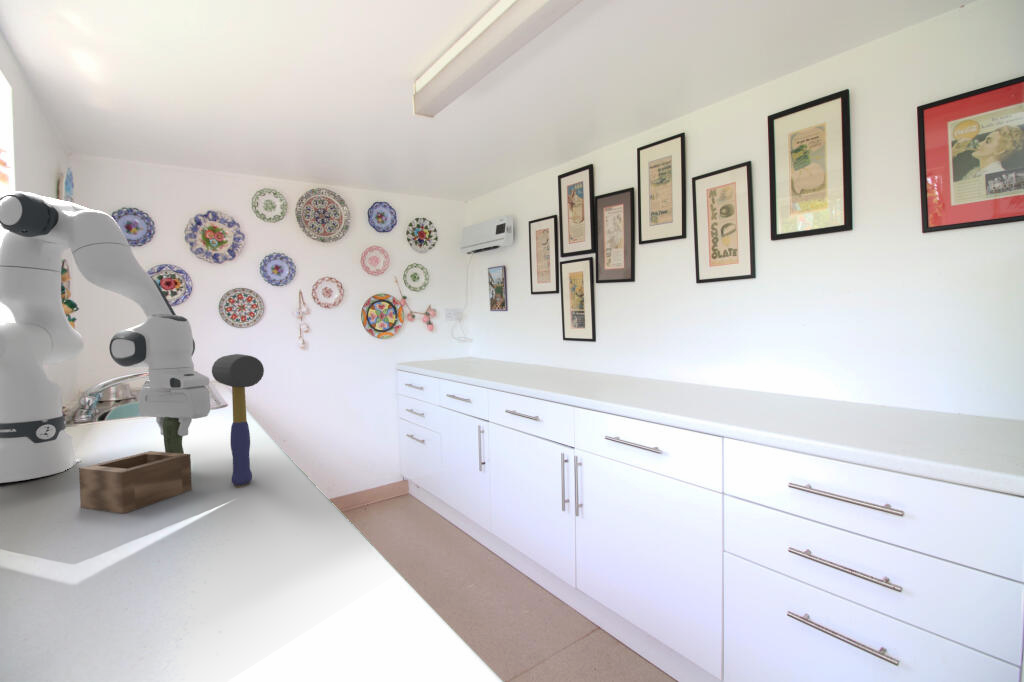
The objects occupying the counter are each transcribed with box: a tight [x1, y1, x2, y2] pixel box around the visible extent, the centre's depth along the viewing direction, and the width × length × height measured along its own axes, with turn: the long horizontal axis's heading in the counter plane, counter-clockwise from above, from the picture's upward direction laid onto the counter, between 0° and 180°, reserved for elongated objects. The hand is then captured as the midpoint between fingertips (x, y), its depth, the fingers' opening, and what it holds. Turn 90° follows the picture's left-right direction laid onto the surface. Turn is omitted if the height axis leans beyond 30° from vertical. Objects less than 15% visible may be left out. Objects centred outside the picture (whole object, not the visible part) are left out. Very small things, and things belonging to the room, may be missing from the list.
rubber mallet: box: [211, 353, 265, 488], centre depth 97 cm, size 12×8×30 cm, turn 51°
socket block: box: [78, 450, 193, 514], centre depth 91 cm, size 13×13×8 cm
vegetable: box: [162, 417, 185, 454], centre depth 106 cm, size 4×4×20 cm
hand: (174, 435), depth 106 cm, fingers closed on vegetable, 4 cm apart
